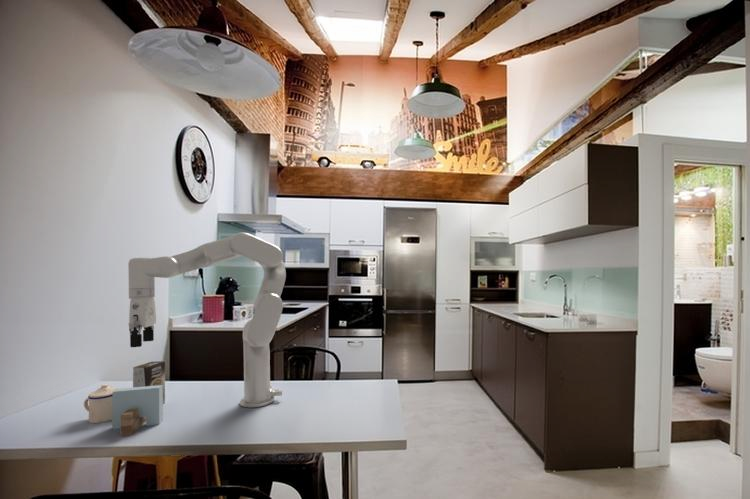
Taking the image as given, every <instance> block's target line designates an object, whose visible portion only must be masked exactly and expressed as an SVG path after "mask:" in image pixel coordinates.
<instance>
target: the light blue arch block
mask: <svg viewBox="0 0 750 499" xmlns="http://www.w3.org/2000/svg"><path fill="white" fill-rule="evenodd" d="M133 408H139V417H146V422H145V426H157V424H158V425H161V423H162V422H163V421H164V420H163V419H164V418H163V416H164V415H163V413H164V411H163V410H164V404H163V385H157V386H145V387H134V388H133V387H125V388H124V387H123V388H119V389H116V390H115V391H113V396H112V420H111V421H112V422H111V423H112V425H111V426H112V427H111V429H112V430H119V429H120V430H121V414H123V413H124V412H125V411H127V410H128V409H133Z"/></svg>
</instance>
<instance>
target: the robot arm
mask: <svg viewBox="0 0 750 499" xmlns="http://www.w3.org/2000/svg"><path fill="white" fill-rule="evenodd" d="M240 257H244V258H247V259H249V260H252V261H254V262H255V263H258V264H259V265H260V267H262V269H263V278H262V282H261V285H260V287H259V290H258V293H257V295H256V298H255V300H254V302H253V309H254V313H253V315H252V318H251V319H249V320H248V321H247V322H246V323H245V324H244V326H243V329H242V342H243V345H242V346H243V347H242V348H243V389H244V390H243V394H244V396H243V397H242V398H241V399H240V401H239V405H240V406H242V407H243V408H259V407H264V406H267V405H270V404H272V403H273V402H274V401H275V397H276V396H277V397H278V396H283V390H281V389H279V388H277V389H273V388H272V385H271V365H270V363H271V362H270V360H271V357H270V356H271V355H270V354H271V352H270V343H271V341H272V340H273V338H274V335H275V333H276V331H277V327H278V325H279V322H280V319H281V317H282V313H283V309H284V304H283V300H282V298H281V295H282V293H283V289H284V286H285V282H286V280H287V279H286V278H287V272H286V266H285V263H284V261H283V259H284V254H283V251H282V249H281V248H280V247H278V246H277V245H275V244H272V243H270V242H268V241H266V240H264V239H262V238H259V237H257V236H255V235H252V234H250V233H249V232H242V231H241V232H238V233H235V234H234V235H231V236H228V237H224V238H220V239H217V240H214V241H210V242H206V243H203V244H200V245H199V246H197V247H196V248H193V249H190V250H188V251H185V252H181V253H177V254H175V255H172V256H158V257H133V258H131V259H129V260H128V270H127V271H128V299H129V300H130V301H129V302H130V303H129V311H128V312H129V314H128V315H129V317H128V318H129V319H128V327H129V328H128V329H129V337H130V338H129V340H130V341H129V342H130V344H129V345H130V348H141V347H142V345H143V342H153V341H154V340H155V339H154V335H155V334H154V332H155V331H154V328H155V326H154V325H155V324H156V322H157V313H156V302H155V297H156V295H155V293H156V292H155V280H156V279H155V278H161V279H163V278H164V279H168V278H173V277H177V276H179V275H183V274H186V273H189V272H193V271H195V270H198V269H204V268H208V267H212V266H215V265H218V264H221V263H224V262H228V261H230V260H234V259H238V258H240ZM142 329H143V330H142Z"/></svg>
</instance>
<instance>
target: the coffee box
mask: <svg viewBox="0 0 750 499" xmlns="http://www.w3.org/2000/svg"><path fill="white" fill-rule="evenodd" d="M132 370H133V371H132V388H134V387H145V386H157V385H163V403H164V404H165V403H166V361H150V362H146V363H143V364H139V365H136V366H134V367H132Z"/></svg>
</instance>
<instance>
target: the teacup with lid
mask: <svg viewBox="0 0 750 499" xmlns="http://www.w3.org/2000/svg"><path fill="white" fill-rule="evenodd" d="M108 384H109V383H105V384H101V386H100V388H97V389H96V390H94V391H92V392H91V393H89V394H88V396H87V398H85V400H84V402H83V407H84V409H85V410H86V411H87V412H88V422H89V423H91V424H100V423H101V424H102V423H105V422H108V421H112V396H113V391H115V390H116V389H120V387H119V388H118V387H114V386H113V387H112V386H109V385H108Z"/></svg>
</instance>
